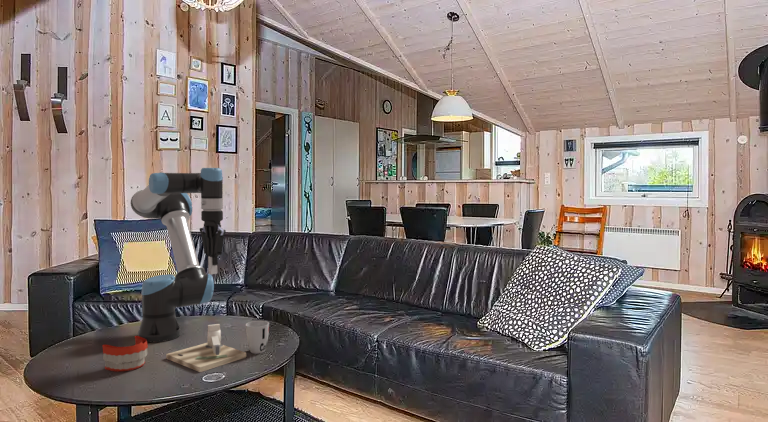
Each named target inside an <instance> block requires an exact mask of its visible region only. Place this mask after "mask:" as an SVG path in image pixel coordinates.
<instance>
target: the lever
mask: <svg viewBox="0 0 768 422" xmlns="http://www.w3.org/2000/svg"><path fill="white" fill-rule="evenodd" d="M206 331H207V332H206V333H207V335H206V336H207V338H206V339H207V342H206V343H207V344H208V346H210V347H212V349H213V353H216V355H219V353H221V346H220V345H221V343H222V336H221V335H222V330H221V324H220V323H216V324H215V323H214V324H207V330H206Z"/></svg>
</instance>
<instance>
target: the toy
mask: <svg viewBox="0 0 768 422" xmlns="http://www.w3.org/2000/svg"><path fill="white" fill-rule="evenodd" d="M134 341H135V342H134V343H135V344H134V345H128V346H115V345H111V344H102V346H101V347H102V354H103V356H102V357H103V358H102V360H103V361H104V364H105V366H104V370H106V371H110V372H117V373H119V372H120V373H121V372H129V371H134V370H137V369H139V368H142V367H143V366H144V365H145V363H146V357H147V355H148V347H149V345H148V342H147V340H146V339H145V338H142V337H140V336H138V335H135V336H134Z"/></svg>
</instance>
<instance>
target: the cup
mask: <svg viewBox="0 0 768 422" xmlns="http://www.w3.org/2000/svg"><path fill="white" fill-rule="evenodd" d="M245 330H246V331H245V332H246V333H245V334H246V340H247V345H248V348H249V351H250V353H252V354H257V355H258V354H261V353H264V352H265V351H266V349H267V347H268V346H267V345H268V340H269V333H270V332H269V331H270V321H266V320H253V321H249V322H246V323H245Z"/></svg>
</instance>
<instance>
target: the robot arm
mask: <svg viewBox="0 0 768 422" xmlns="http://www.w3.org/2000/svg"><path fill="white" fill-rule="evenodd" d="M223 178H224V177H223V170H222V169H221V168H220V167H202V168H201V169H200V172H162V171H161V172H153V173H151V174H150V175H149V178H148V185H147V186H146V187H145V188H144V189H142V190H139V191H137V192H135V193H134V194H133V195H132V197H131V198H130V206H131V209H132V211H133V212H134V214H137V216H140V217H142V218H144V219H150V220H151V219H160V221H161V223H162V225H163V226H166V229H167V232H168V233H167V234H168V236H169V240H170V245H171V248H172V253H173V257H174V262H175V264H176V265H175V266H176V269H177V273H176V274H175V275H173V274H172V273H171V274H160V275H155V276H152V277H148V278H146V279H145V280H144V281H142V284H141V292H140V293H141V304H142V305H141V307H142V308H141V310H142V312H141V313H142V318H141V319H142V320H141V323H140V325H139V329H138V332H137V336H140V337H142V338H145V339H146V340H147V343H160V342H161V343H162V342H167V341H171V340H174V339H177V338H178V337H180V336H181V328H180V325H179V322H178V319H177V317H176V308H182V307H189V306H190V307H191V306H196V305H201V304H202V305H203V304H207V303H209V302H211V300H212V298H213V295H214V289H215V282H214V277H213V275H217V274H218V264H219V263H218V262H219V259H218V257H219V256H221V255H222V254H223V253H222V252H223V246H224V238H225V235H226V229H223V228H222V225H221V222H222V221H223V220H224V211H223V209H224V201H223V200H224V198H223V196H224V195H223V194H224V193H223V185H224V184H223V181H224V180H223ZM189 194H200V198H201V202H200V205H201V207H200V209H201V214H200V215H201V217H200V218H201V221H203V222H204V223H203V227H200V228H199V232H200V235H201V236H200V237H201V241H202V247H203V248H202V249H203V253H204V255H206V256H207V264H208V273H206V270H205V268H204V267H202V266H200V262H199V259H198V255H197V251H196V248H195V244H194V242H193V237H192V233H191V230H190V225H189V222H188V221H189V220H190V218H191V217H190V216H192V214H193V206H192V205H193V203H192V199H191V197H190V195H189Z"/></svg>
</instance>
